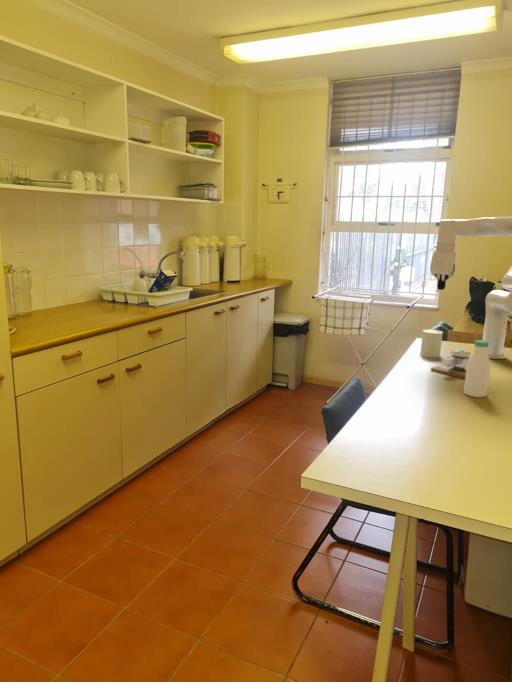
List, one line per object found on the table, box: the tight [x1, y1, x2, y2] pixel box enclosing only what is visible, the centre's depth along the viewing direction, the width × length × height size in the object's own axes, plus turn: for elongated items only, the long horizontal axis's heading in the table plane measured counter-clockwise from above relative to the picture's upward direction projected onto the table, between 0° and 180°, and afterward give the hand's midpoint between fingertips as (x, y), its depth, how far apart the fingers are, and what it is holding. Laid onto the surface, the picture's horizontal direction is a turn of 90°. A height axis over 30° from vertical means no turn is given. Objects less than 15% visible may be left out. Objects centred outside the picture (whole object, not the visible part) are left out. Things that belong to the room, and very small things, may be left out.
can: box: [419, 329, 444, 359], centre depth 240 cm, size 9×9×12 cm
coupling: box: [441, 349, 471, 368], centre depth 211 cm, size 7×14×6 cm, turn 127°
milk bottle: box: [463, 339, 491, 398], centre depth 183 cm, size 8×8×20 cm
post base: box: [430, 356, 467, 380], centre depth 213 cm, size 16×16×7 cm
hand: (440, 289), depth 228 cm, fingers closed
